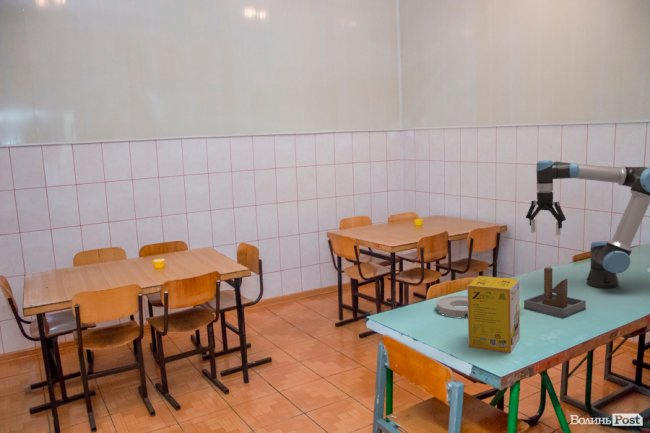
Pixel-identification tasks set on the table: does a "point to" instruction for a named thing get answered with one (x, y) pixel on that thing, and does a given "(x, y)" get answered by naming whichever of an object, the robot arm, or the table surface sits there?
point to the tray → (571, 308)
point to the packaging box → (493, 313)
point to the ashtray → (453, 306)
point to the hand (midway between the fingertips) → (545, 233)
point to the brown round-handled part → (554, 291)
